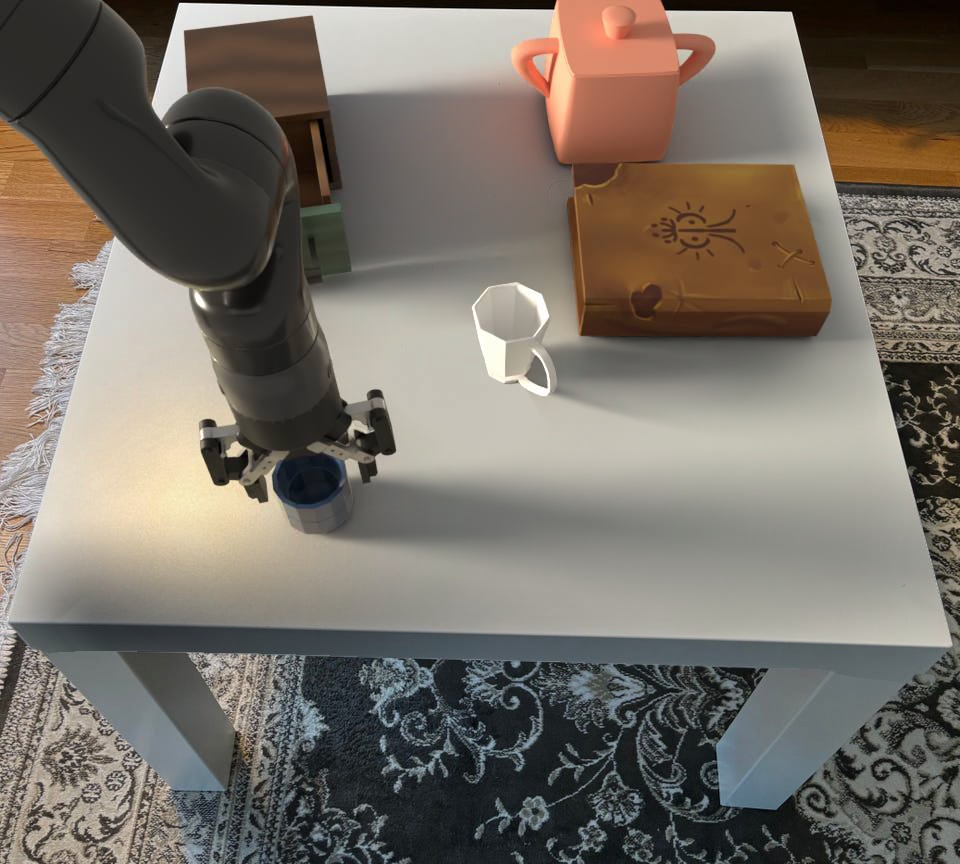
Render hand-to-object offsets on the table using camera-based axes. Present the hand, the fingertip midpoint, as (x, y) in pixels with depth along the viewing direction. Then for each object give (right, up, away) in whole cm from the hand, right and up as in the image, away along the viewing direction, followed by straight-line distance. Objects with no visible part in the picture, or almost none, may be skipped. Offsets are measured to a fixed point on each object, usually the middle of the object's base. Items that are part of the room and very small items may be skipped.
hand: (314, 483), depth 74 cm
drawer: (-6, +23, +17) cm, 30 cm away
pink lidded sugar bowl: (+28, +42, +30) cm, 59 cm away
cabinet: (-10, +36, +26) cm, 46 cm away
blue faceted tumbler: (0, -2, +3) cm, 4 cm away
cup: (+17, +10, +11) cm, 22 cm away
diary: (+35, +21, +18) cm, 44 cm away
